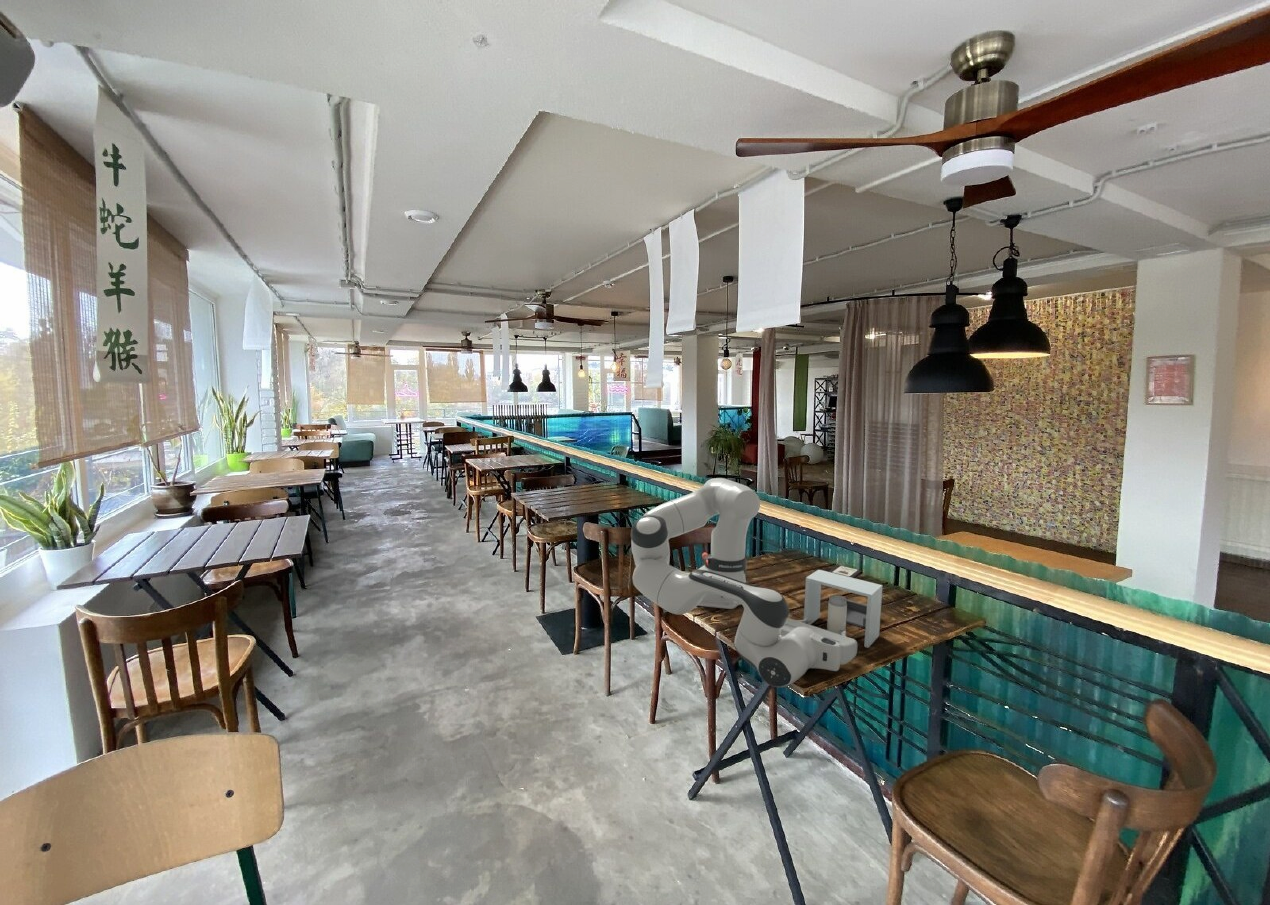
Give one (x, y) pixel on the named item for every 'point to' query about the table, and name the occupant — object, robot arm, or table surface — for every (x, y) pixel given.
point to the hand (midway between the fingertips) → (825, 627)
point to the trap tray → (856, 613)
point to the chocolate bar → (845, 571)
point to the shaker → (837, 613)
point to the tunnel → (849, 585)
